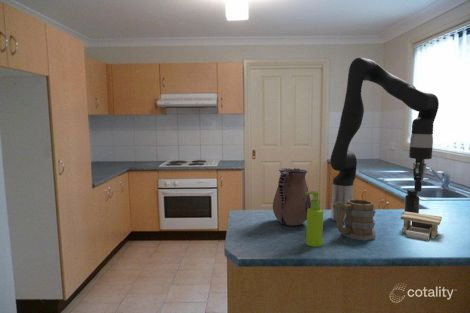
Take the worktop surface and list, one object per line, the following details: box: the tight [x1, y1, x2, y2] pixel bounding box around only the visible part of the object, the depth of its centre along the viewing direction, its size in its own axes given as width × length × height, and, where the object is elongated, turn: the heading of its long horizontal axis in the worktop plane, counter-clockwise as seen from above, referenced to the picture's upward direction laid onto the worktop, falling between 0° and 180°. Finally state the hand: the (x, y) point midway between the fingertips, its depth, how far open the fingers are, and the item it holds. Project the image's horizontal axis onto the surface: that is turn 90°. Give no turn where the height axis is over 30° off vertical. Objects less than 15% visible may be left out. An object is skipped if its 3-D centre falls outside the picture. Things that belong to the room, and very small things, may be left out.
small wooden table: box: [400, 212, 443, 239], centre depth 140 cm, size 11×14×7 cm
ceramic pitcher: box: [272, 167, 311, 227], centre depth 148 cm, size 18×21×25 cm
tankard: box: [333, 198, 377, 241], centre depth 133 cm, size 20×13×15 cm, turn 110°
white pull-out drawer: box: [405, 224, 432, 241], centre depth 138 cm, size 15×8×2 cm, turn 145°
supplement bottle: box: [404, 189, 420, 214], centre depth 172 cm, size 7×7×12 cm
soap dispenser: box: [305, 190, 324, 248], centre depth 123 cm, size 6×7×20 cm
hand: (417, 191), depth 126 cm, fingers closed
